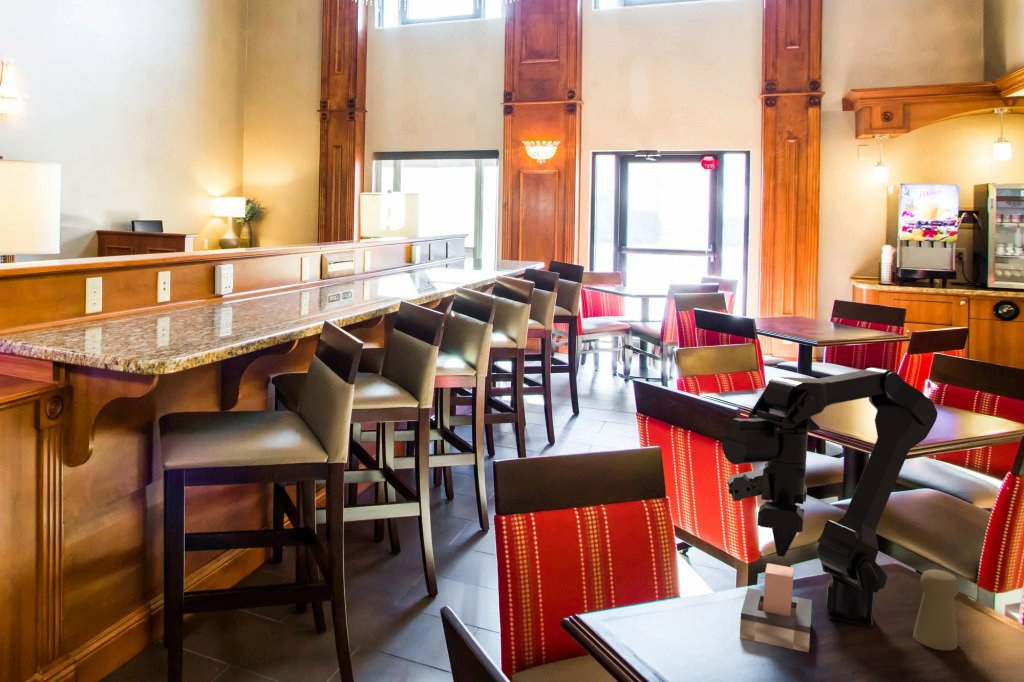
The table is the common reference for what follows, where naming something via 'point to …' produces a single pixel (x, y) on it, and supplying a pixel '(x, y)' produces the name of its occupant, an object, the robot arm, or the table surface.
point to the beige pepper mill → (937, 611)
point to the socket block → (776, 622)
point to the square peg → (778, 589)
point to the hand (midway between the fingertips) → (780, 555)
